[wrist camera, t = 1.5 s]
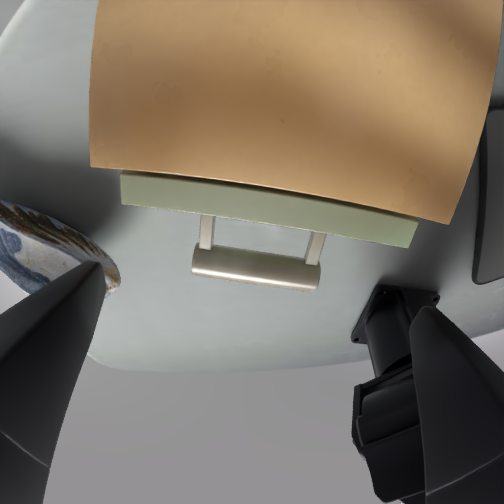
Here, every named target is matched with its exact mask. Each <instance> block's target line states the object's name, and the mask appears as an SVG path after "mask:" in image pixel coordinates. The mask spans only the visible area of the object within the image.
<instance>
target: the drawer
mask: <svg viewBox="0 0 504 504" xmlns="http://www.w3.org/2000/svg"><path fill="white" fill-rule="evenodd" d="M120 189H121V203H122V204H125V205H133V206H141V207H149V208H157V209H165V210H172V211H180V212H187V213H195V214H201V219H200V235H199V242H198V243H197V244H196V246H195V249H194V253H193V259H192V274H193V275H197V276H203V277H209V278H216V279H222V280H229V281H236V282H242V283H249V284H256V285H263V286H270V287H277V288H285V289H292V290H299V291H307V292H315V291H316V289H317V287H318V284H319V280H320V271H321V268H320V262H319V258H320V254H321V251H322V248H323V245H324V242H325V238H326V235H327V234H331V235H337V236H343V237H348V238H354V239H360V240H365V241H371V242H376V243H382V244H387V245H393V246H398V247H403V248H408V247H409V245H410V243H411V240H412V238H413V236H414V233H415V231H416V229H417V226H418V224H419V221H418V220H417V218H416V217H415V216H411V215H407V214H403V213H399V212H394V211H390V210H386V209H381V208H377V207H372V206H367V205H363V204H358V203H353V202H348V201H343V200H338V199H333V198H328V197H323V196H317V195H312V194H306V193H301V192H295V191H289V190H283V189H277V188H271V187H265V186H259V185H252V184H245V183H239V182H232V181H224V180H217V179H209V178H201V177H193V176H185V175H176V174H167V173H157V172H147V171H136V170H124V171H123V172H121V173H120ZM215 217H223V218H230V219H237V220H243V221H250V222H257V223H263V224H270V225H276V226H282V227H289V228H295V229H301V230H307V231H312V232H311V235H310V239H309V242H308V246H307V250H306V253H305V257H304V258H299V257H293V256H286V255H279V254H273V253H266V252H259V251H253V250H246V249H239V248H233V247H226V246H219V245H213V239H214V228H215Z"/></svg>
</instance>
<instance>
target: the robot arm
mask: <svg viewBox="0 0 504 504" xmlns="http://www.w3.org/2000/svg"><path fill="white" fill-rule="evenodd" d="M106 289H107V288H106V281H105V275H104V270H103V265H102V264H101V263H100V262H98V261H92V260H87V261H85V262H83V263H81V264H79V265H78V266H76V267H74V268H73V269H71V270H69V271H68V272H66V273H64V274H63V275H61V276H59V277H58V278H56V279H55V280H53V281H51V282H50V283H48V284H47V285H45V286H43V287H42V288H40V289H39V290H37V291H35V292H34V293H32V294H31V295H29V296H28V297H26V298H25V299H23V300H21V301H20V302H19V303H17V304H15V305H14V306H13V307H11V308H9V309H8V310H6V311H5V312H3V313H2V314H0V504H43V499H44V494H45V489H46V485H47V480H48V476H49V471H50V467H51V463H52V459H53V455H54V451H55V447H56V444H57V440H58V437H59V433H60V430H61V427H62V423H63V420H64V417H65V414H66V410H67V407H68V404H69V401H70V398H71V395H72V392H73V389H74V387H75V384H76V381H77V378H78V375H79V373H80V370H81V367H82V365H83V362H84V359H85V357H86V354H87V352H88V349H89V346H90V344H91V341H92V338H93V335H94V331H95V328H96V324H97V321H98V317H99V314H100V311H101V307H102V304H103V301H104V298H105V295H106ZM380 291H382V292H380ZM439 300H440V296H439V294H438V292H433V291H427V290H420V289H412V288H402V287H394V286H387V285H379V286H377V287H376V288H375V289H374V291H373V294H372V296H371V298H370V300H369V302H368V304H367V306H366V308H365V310H364V312H363V314H362V316H361V318H360V320H359V322H358V324H357V326H356V328H355V329H354V331H353V333H352V335H351V341H352V342H353V343H359V344H367V345H368V349H369V353H370V357H371V361H372V365H373V369H374V374H375V378H374V379H372V380H370V381H368V382H366V383H364V384H359V385H357V386H355V387H354V399H353V417H352V418H353V419H352V438H353V444H354V445H355V446H356V447H357V449H358V452H359V453H360V455H361V456H362V458H363V459H364V460H366V462H367V464H368V467H369V470H370V474H371V478H372V482H373V487H374V492H375V494H376V495H377V497H378V498H380V500H381V501H383V503H390V502H393V501H398V502H400V503H401V504H504V372H503V371H502V370H501V369H500V368H499V367H498V366H497V365H496V364H495V363H494V362H493V361H492V360H491V359H490V358H489V357H488V356H487V355H486V354H485V353H484V352H483V351H482V350H481V349H480V348H479V347H478V346H477V345H476V344H475V343H474V342H473V341H472V340H471V339H470V338H469V337H468V336H467V335H465V334H464V333H463V332H462V331H461V330H460V329H459V328H458V327H457V326H456V325H455V324H454V323H453V322H451V321H450V320H449V319H448V318H447V317H446V316H445V315H444V314H443V313H442V312H440V311H439V310H438V309H437V308H436V305H437V303H438V301H439Z"/></svg>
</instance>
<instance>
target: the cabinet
mask: <svg viewBox="0 0 504 504" xmlns="http://www.w3.org/2000/svg"><path fill="white" fill-rule="evenodd" d="M502 11H503V0H99V1H98V7H97V13H96V20H95V28H94V36H93V46H92V57H91V71H90V91H89V146H90V166H91V167H97V168H111V169H124V170H136V171H147V172H157V173H167V174H176V175H185V176H193V177H201V178H209V179H217V180H224V181H232V182H239V183H245V184H252V185H259V186H265V187H271V188H277V189H283V190H289V191H295V192H301V193H306V194H312V195H317V196H323V197H328V198H333V199H338V200H343V201H348V202H353V203H358V204H363V205H367V206H372V207H377V208H381V209H386V210H390V211H394V212H399V213H403V214H407V215H411V216H416V217H420V218H424V219H428V220H432V221H435V222H439V223H443V224H447V225H449V224H450V221H451V219H452V216H453V214H454V212H455V209H456V207H457V204H458V202H459V199H460V197H461V194H462V191H463V189H464V186H465V183H466V180H467V178H468V175H469V172H470V169H471V166H472V163H473V160H474V157H475V154H476V150H477V147H478V144H479V140H480V137H481V133H482V130H483V126H484V122H485V119H486V115H487V111H488V106H489V102H490V97H491V93H492V88H493V83H494V78H495V72H496V66H497V60H498V53H499V45H500V36H501V26H502Z"/></svg>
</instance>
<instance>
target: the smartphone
mask: <svg viewBox="0 0 504 504" xmlns="http://www.w3.org/2000/svg"><path fill="white" fill-rule="evenodd" d="M480 152H481V185H480V207H479V221H478V231H477V236H476V245H475V257H474V263H473V270H472V280H473V282H474V283H475V284H477V285H483V284H486V283H489V282H492V281H495V280H498V279H501V278H504V105H493V106H488V111H487V115H486V119H485V122H484V126H483V130H482V133H481V137H480Z"/></svg>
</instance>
